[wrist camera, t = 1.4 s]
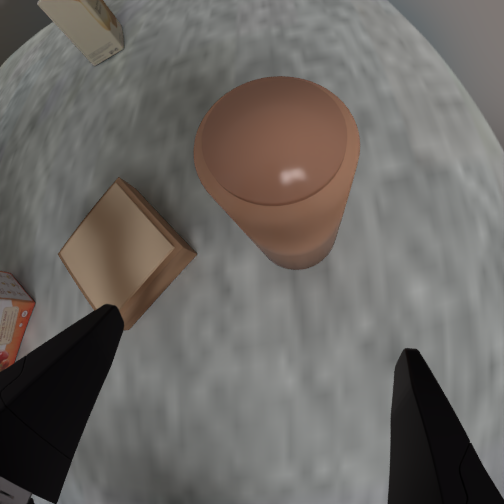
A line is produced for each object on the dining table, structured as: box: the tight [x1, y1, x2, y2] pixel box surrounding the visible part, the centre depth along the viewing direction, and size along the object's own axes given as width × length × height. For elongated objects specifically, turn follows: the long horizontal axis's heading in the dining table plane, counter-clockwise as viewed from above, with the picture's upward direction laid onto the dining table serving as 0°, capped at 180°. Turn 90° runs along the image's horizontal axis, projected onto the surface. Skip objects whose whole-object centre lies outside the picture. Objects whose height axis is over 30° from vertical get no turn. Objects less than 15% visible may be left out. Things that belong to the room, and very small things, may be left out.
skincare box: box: [37, 0, 124, 66], centre depth 24 cm, size 6×4×12 cm
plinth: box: [58, 177, 197, 330], centre depth 23 cm, size 8×8×3 cm
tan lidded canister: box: [194, 76, 360, 270], centre depth 16 cm, size 6×6×13 cm
